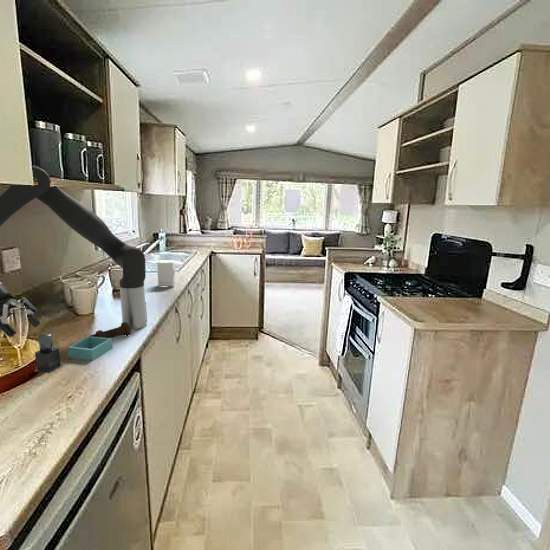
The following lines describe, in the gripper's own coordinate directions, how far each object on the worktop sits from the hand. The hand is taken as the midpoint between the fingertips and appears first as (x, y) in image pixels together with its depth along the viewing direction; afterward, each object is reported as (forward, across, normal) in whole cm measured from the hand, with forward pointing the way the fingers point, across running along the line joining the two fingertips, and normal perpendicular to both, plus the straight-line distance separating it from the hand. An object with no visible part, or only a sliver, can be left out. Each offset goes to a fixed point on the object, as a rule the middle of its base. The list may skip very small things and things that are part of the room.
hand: (26, 330), depth 112 cm
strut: (+13, 0, +3) cm, 13 cm away
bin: (+18, +12, 0) cm, 21 cm away
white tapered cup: (0, +109, +18) cm, 110 cm away
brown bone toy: (+15, +27, +4) cm, 31 cm away
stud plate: (+14, 0, +4) cm, 14 cm away
